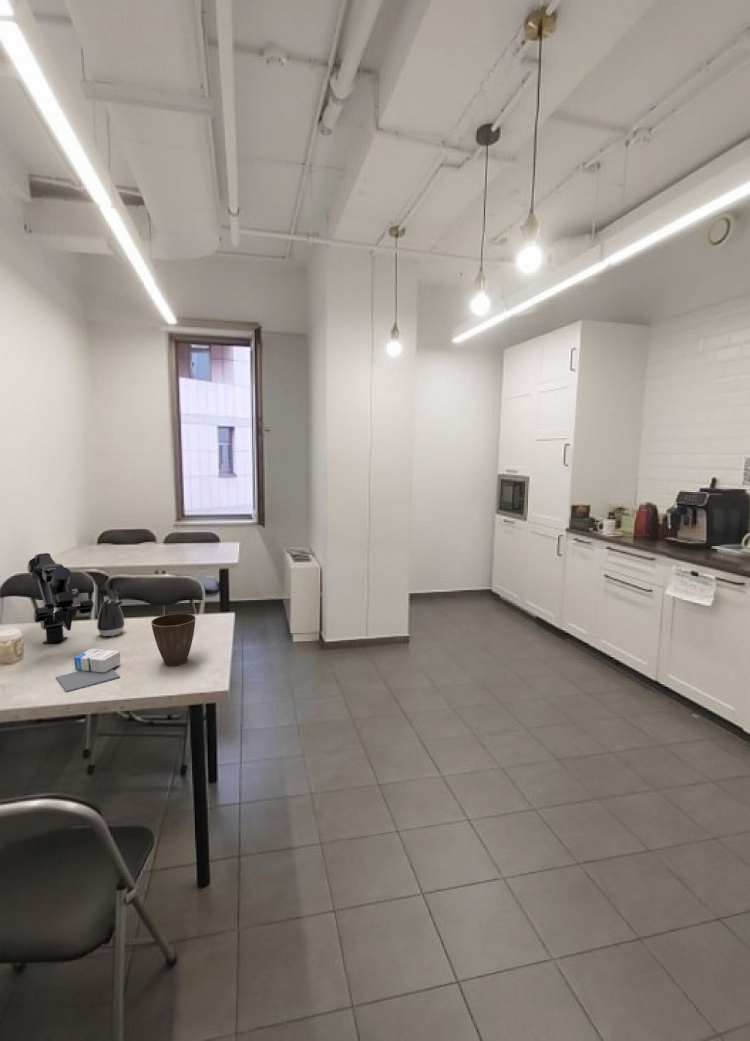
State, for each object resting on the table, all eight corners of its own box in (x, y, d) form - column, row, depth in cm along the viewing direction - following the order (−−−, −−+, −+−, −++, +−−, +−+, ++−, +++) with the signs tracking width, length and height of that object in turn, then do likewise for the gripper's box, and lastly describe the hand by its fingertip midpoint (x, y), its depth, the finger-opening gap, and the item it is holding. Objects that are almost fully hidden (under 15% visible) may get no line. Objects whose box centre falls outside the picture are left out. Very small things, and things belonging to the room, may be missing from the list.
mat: (55, 678, 173) (55, 676, 173) (107, 665, 184) (107, 663, 184) (66, 692, 163) (66, 690, 163) (120, 677, 173) (120, 676, 173)
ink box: (74, 670, 178) (104, 673, 175) (73, 656, 177) (103, 660, 175) (92, 660, 186) (121, 663, 184) (91, 647, 185) (120, 650, 183)
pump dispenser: (117, 639, 210) (115, 602, 208) (92, 638, 210) (90, 602, 208) (130, 630, 220) (128, 596, 218) (105, 630, 220) (103, 595, 218)
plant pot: (143, 666, 183) (141, 623, 181) (173, 651, 197) (171, 611, 195) (177, 672, 178) (175, 628, 176) (205, 657, 192) (204, 615, 190)
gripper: (32, 586, 183) (41, 624, 177) (90, 578, 196) (100, 613, 189) (30, 603, 190) (38, 640, 183) (86, 594, 203) (96, 628, 196)
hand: (69, 630), depth 188 cm, fingers closed
